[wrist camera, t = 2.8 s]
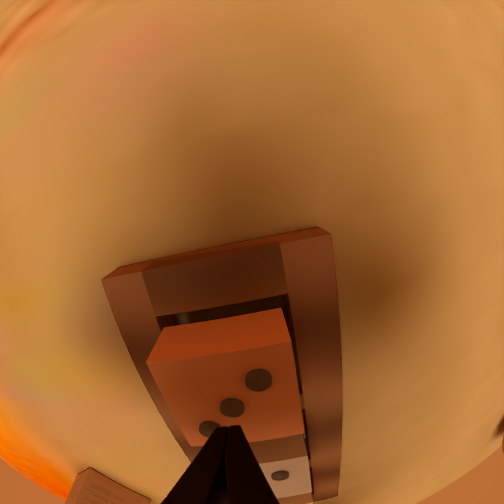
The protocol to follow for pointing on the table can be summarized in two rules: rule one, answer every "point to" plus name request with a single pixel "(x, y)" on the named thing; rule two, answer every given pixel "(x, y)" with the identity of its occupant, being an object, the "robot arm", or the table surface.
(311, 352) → the tile tray
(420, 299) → the table surface
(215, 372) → the tile three pip
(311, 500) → the tile one pip
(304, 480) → the tile two pip
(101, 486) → the small box
